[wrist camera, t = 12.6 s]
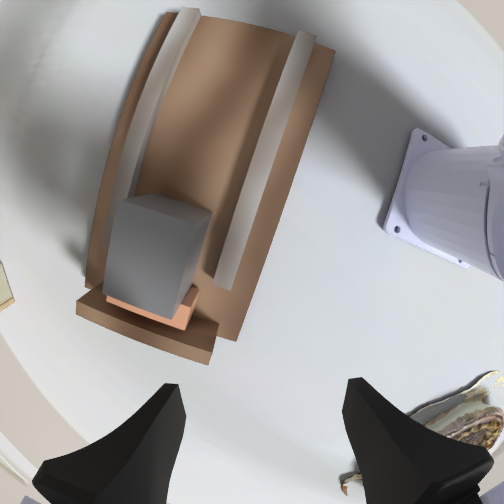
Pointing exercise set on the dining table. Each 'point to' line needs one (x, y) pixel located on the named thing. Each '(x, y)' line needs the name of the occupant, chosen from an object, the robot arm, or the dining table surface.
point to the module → (154, 252)
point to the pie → (466, 421)
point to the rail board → (209, 162)
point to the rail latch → (177, 321)
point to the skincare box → (4, 290)
